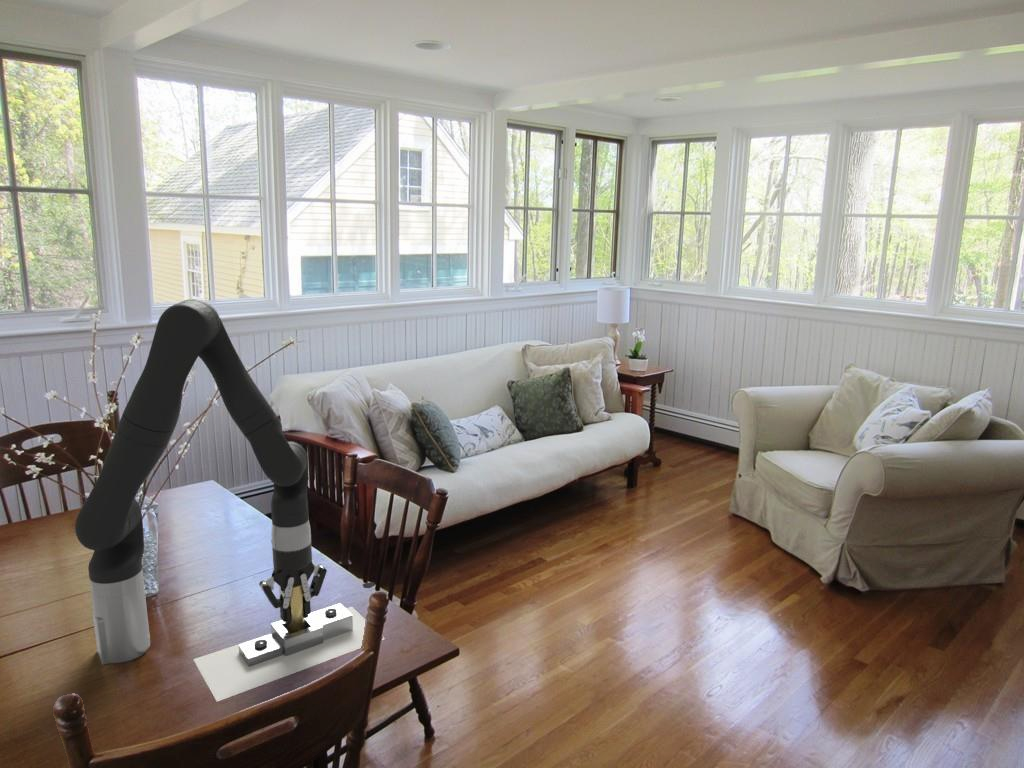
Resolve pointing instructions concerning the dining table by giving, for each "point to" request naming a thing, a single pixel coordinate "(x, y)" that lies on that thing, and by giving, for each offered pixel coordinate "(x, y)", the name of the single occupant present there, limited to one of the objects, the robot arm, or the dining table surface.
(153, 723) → the dining table surface
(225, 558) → the dining table surface
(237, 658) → the mat
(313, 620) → the slotted stepped fixture
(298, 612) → the brass pin
